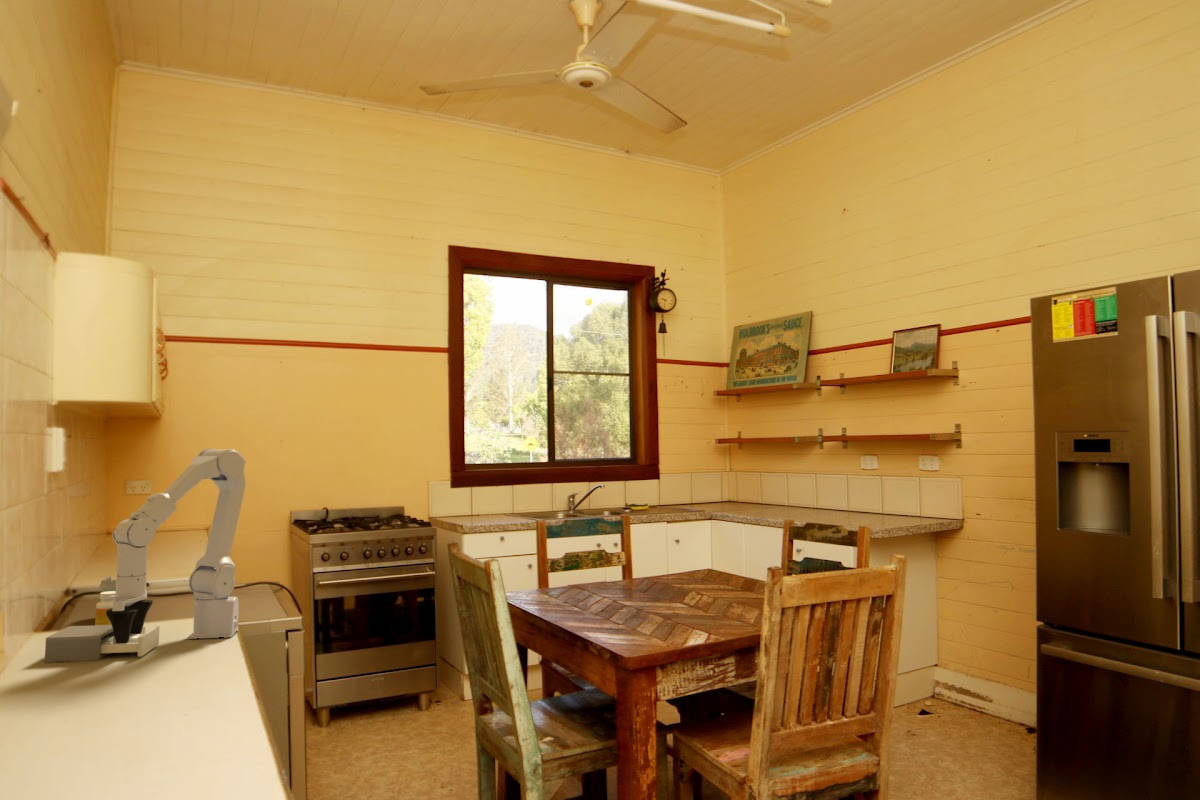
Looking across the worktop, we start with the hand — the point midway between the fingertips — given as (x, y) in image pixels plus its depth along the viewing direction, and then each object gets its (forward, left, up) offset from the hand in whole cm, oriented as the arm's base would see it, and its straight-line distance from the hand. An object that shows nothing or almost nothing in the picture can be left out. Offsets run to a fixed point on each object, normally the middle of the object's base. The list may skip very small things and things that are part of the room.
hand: (128, 638), depth 171 cm
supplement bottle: (+11, -20, -3) cm, 24 cm away
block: (+1, -8, -3) cm, 9 cm away
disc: (0, 0, -1) cm, 1 cm away
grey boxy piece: (+9, 0, -3) cm, 9 cm away
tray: (+1, 0, -3) cm, 3 cm away
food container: (+16, -40, -3) cm, 43 cm away
